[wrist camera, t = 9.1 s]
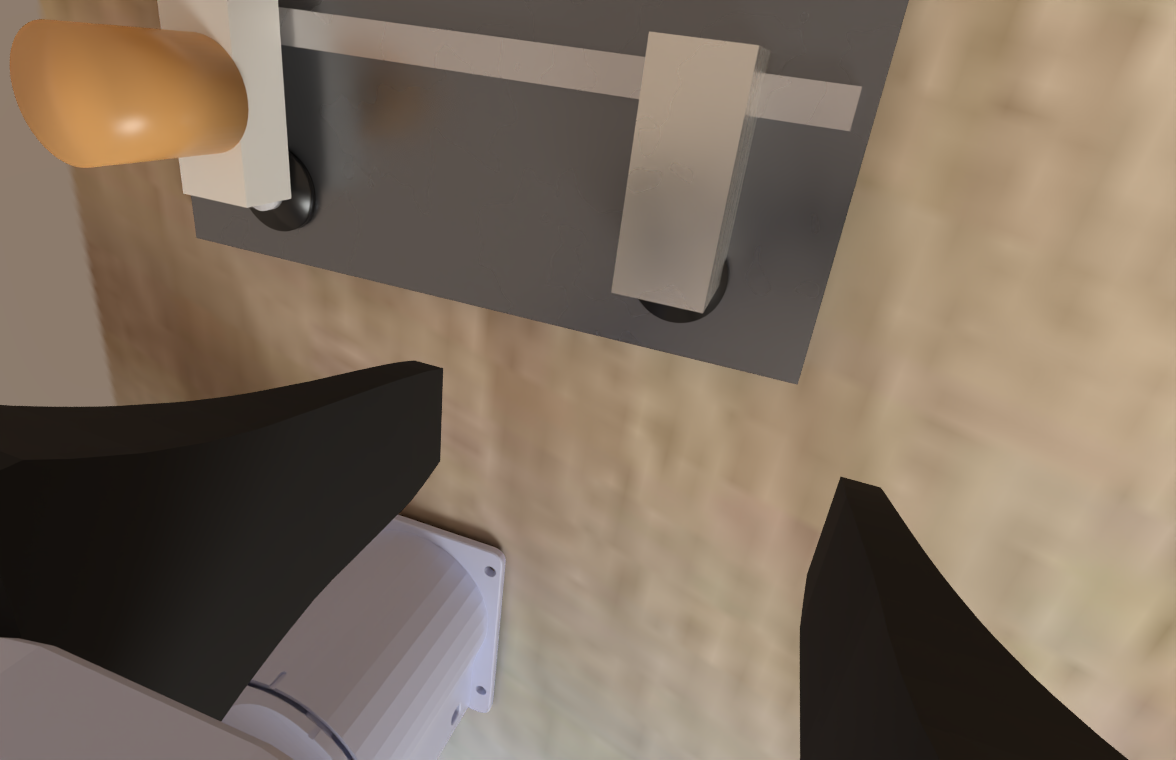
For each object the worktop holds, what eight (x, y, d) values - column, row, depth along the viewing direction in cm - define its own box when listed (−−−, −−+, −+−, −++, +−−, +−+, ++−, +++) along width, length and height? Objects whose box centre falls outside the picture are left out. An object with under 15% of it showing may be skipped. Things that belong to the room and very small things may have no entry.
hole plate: (799, 369, 21) (791, 429, 17) (222, 231, 26) (122, 255, 22) (919, -47, 16) (943, -87, 12) (182, -113, 21) (47, -154, 18)
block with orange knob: (309, 217, 22) (141, 259, 17) (230, 200, 23) (46, 235, 18) (296, -10, 19) (88, -47, 14) (206, -22, 20) (-22, -61, 15)
